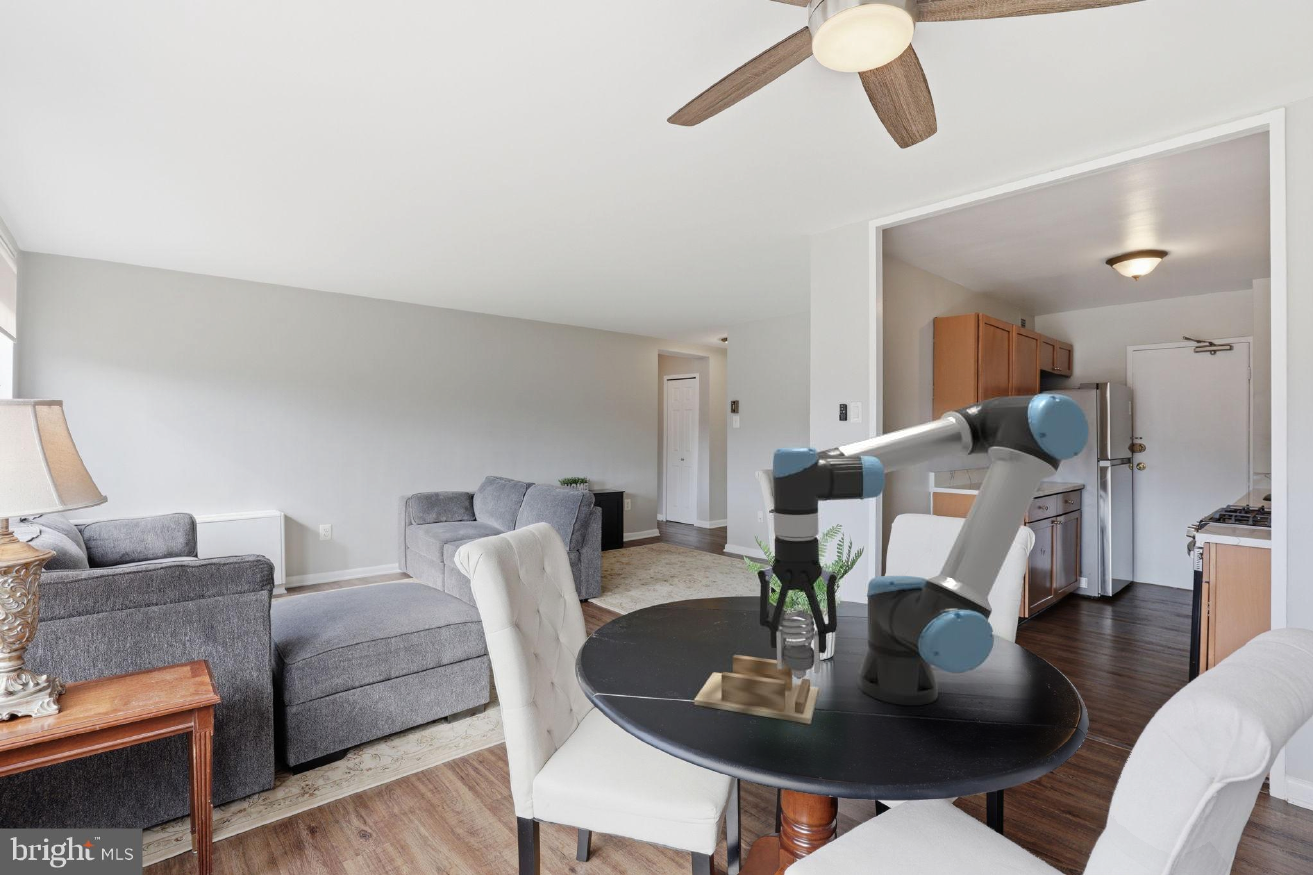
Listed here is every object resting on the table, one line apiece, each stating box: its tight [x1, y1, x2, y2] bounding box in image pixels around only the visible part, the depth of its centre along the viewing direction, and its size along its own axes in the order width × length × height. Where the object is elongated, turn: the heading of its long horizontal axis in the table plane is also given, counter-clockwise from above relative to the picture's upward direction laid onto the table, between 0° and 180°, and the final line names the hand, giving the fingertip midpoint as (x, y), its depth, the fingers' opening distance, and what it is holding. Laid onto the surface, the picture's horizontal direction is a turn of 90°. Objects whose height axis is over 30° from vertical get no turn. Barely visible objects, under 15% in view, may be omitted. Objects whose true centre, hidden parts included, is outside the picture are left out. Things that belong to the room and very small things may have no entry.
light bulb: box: [781, 609, 816, 680], centre depth 107 cm, size 6×6×12 cm
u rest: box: [693, 654, 819, 725], centre depth 122 cm, size 22×14×6 cm, turn 70°
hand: (798, 667), depth 108 cm, fingers closed on light bulb, 6 cm apart
